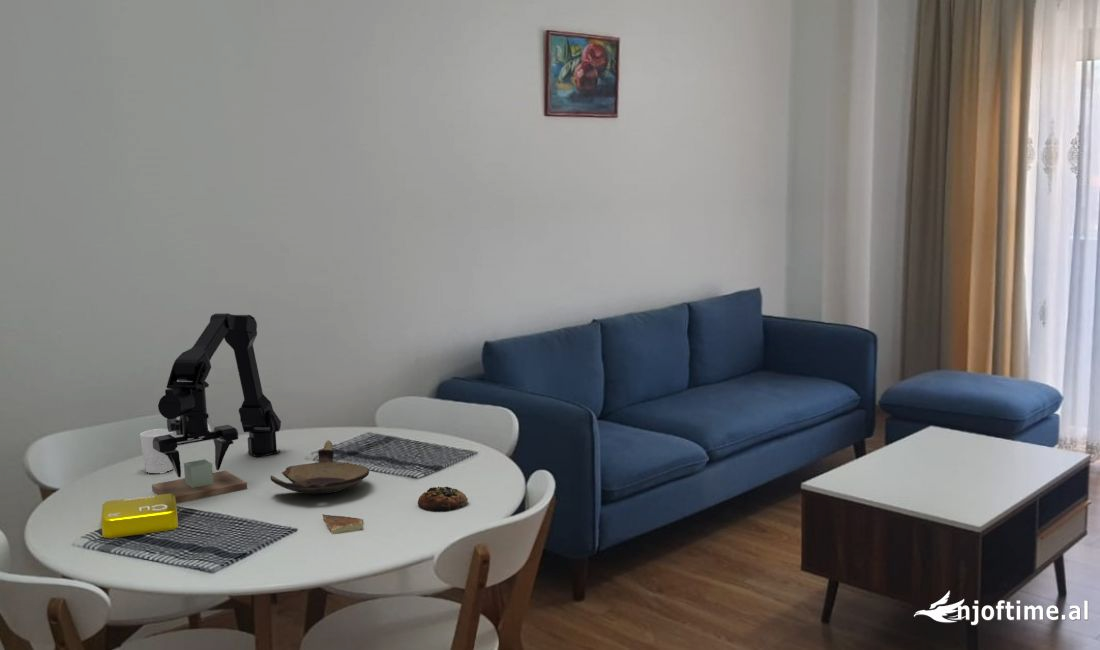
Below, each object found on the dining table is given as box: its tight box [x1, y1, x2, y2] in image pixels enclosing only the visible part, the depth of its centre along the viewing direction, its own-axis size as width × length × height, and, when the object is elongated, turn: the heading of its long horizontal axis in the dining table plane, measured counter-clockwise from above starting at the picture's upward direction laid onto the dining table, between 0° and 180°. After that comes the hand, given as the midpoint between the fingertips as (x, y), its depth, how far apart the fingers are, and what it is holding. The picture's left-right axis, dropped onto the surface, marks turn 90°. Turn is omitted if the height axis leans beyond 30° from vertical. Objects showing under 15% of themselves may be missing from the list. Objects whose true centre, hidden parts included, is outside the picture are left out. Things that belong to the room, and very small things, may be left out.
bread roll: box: [417, 486, 469, 513], centre depth 238 cm, size 11×11×5 cm
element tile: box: [100, 494, 179, 539], centre depth 229 cm, size 15×15×5 cm
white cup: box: [139, 428, 174, 474], centre depth 270 cm, size 8×8×10 cm
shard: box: [322, 513, 364, 535], centre depth 225 cm, size 11×8×2 cm
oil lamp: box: [269, 439, 370, 495], centre depth 252 cm, size 22×30×8 cm
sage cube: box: [183, 458, 214, 488], centre depth 252 cm, size 5×5×5 cm
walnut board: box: [151, 470, 248, 504], centre depth 253 cm, size 18×14×2 cm
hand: (198, 473), depth 252 cm, fingers open, 9 cm apart
